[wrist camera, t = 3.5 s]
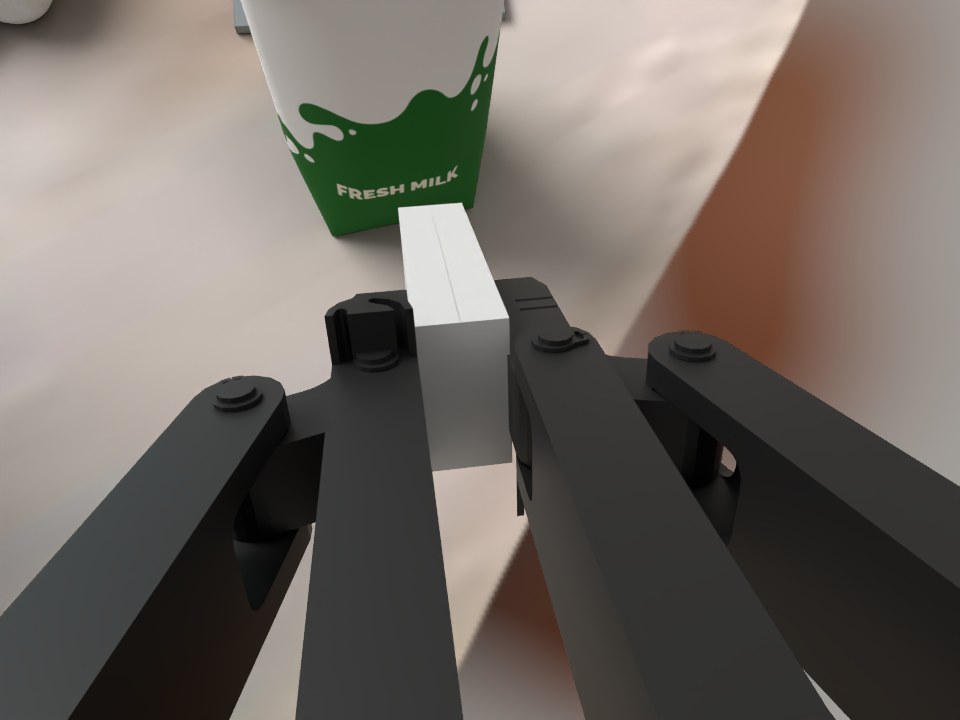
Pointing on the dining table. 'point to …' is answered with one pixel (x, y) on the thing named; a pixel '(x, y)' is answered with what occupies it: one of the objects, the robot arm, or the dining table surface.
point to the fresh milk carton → (380, 99)
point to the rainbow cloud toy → (22, 10)
